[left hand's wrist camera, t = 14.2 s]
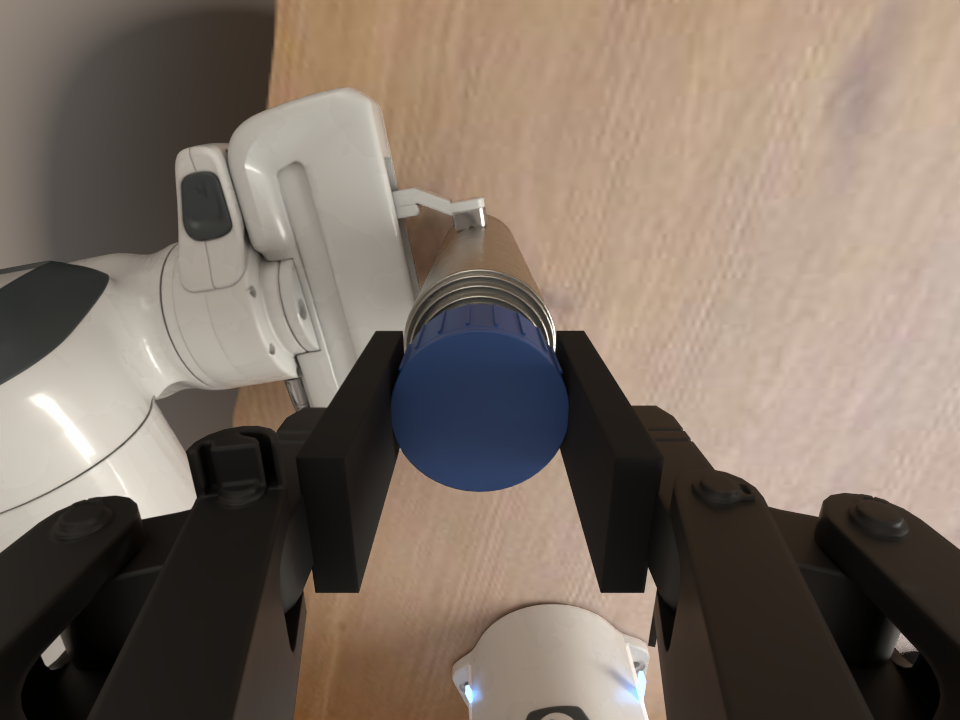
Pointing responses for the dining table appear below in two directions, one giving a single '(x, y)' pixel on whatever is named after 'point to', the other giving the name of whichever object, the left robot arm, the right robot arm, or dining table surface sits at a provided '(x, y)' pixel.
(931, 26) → the dining table surface
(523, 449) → the cap
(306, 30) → the dining table surface
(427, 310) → the bottle
